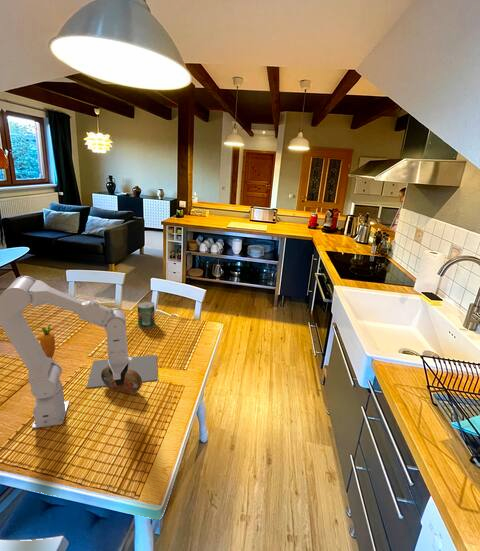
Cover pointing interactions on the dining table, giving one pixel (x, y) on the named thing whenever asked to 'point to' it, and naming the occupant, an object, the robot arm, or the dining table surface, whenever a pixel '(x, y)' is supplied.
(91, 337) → the dining table surface
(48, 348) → the carrot
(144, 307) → the canned tomato
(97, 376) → the mat
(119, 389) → the tin
